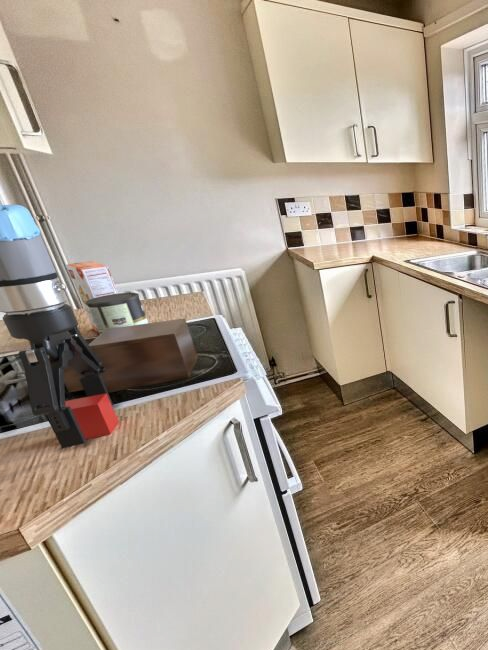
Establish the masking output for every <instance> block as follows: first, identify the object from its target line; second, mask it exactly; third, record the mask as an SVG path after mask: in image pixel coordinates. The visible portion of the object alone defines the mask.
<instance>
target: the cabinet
mask: <svg viewBox="0 0 488 650" xmlns="http://www.w3.org/2000/svg"><path fill="white" fill-rule="evenodd" d="M96 337H97V338H96V339H94V340H93V341H92V342H91V343H90V344H88V345H89V346H90V347H91V348H92V350H93V351H94V352H95V354H96V355H97V356H98V358H99V359H100V360H101V362H102V364H103V365H102V367H105V369H106V372H104V373H98V375H99V374H100V375H101V377H102V380H103V382H104V384H105V387H106V389H107V391H108V394H110V393H116V392H121V391H126V390H130V389H131V390H132V389H136V388H143V387H146V386H152V385H158V384H163V383H169V382H174V381H179V380H184V379H189V378H190V377H191V375H192V373H193V371H194V368H195V367H196V365H197V362H198V360H199V357H198V353H197V351H196V347H195V344H194V341H193V339H192V334H191V332H190V328H189V325H188V323H187V319H186V318H176V319H170V320H162V321H155V322H148V323H147V324H140V325H133V326H126V327H118V328H111V329H106V330H105V331H104V332H103V333H102V334H100V335H99V334H98V336H96ZM92 362H93V361H92Z"/></svg>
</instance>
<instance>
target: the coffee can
mask: <svg viewBox="0 0 488 650" xmlns="http://www.w3.org/2000/svg"><path fill="white" fill-rule="evenodd" d="M86 304H87V305H88V307H89V310H90V312H91V315H92V317H93V319H94V322H95V324H96V326H97V329H98V331H99V332H98V335H99V334H102V333H103V332H104V331H105V330H106V329H111V328H118V327H126V326H133V325H140V324H147V323H149V321H148V318H147V315H146V312H145V309H144V307H143V303H142V301H141V299H140V294H139V293H138V292H121V293H120V292H118V294H112V295H106V296H101V297H97V298H93V299H90V300H88V301H86Z"/></svg>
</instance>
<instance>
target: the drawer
mask: <svg viewBox="0 0 488 650" xmlns="http://www.w3.org/2000/svg"><path fill="white" fill-rule="evenodd" d="M97 337H98V336H93V337H86V338H84V339H85V341H86V342H87V343H88V344H90V343H91V342H92V341H93V340H94V339H96V338H97ZM22 375H25V371H24V370H19V371H18V370H14V369H13V370H9V371H8V372H6V373H5V374H3V375H2V376H1V377H0V389H1V388H3V387H4V386H5V385H12V384H17V383H18V384H19V383H22V382H27V381H26V377H20V378H16V377H18V376H22ZM82 377H85V376H81V375H80V374H79V373H77V372H76V371H75V370H74V369H72V368H71V367H70V366H69V365H68V368H67V369H66V370H64V386H65V392H66V391H68V393H73V392H80V391H84V388H83V386H82V384H81V382H80V380H79V379H80V378H82Z"/></svg>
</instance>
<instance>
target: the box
mask: <svg viewBox="0 0 488 650" xmlns="http://www.w3.org/2000/svg"><path fill="white" fill-rule="evenodd" d="M68 406H70V408H71V410H72V412H73V414H74V416H75V418H76V420H77V423H78V425H79V427H80V429H81V431H82V433H83V435H84V437H85V440H86V441H87V440H91V439H95V438H100V437H104V436H108V435H111V434H112V433H113V431H114V430H115V428H116V427H117V426H118V425H119V423H120V421H119V419H118V416H117V414H116V412H115V410H114V406H112V405H111V402H110V400H109V398H108V395H107V393H105V394H100V395H95V396H90V397H87V396H85V397H80V398H74V399H68V400H65V407H68Z"/></svg>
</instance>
